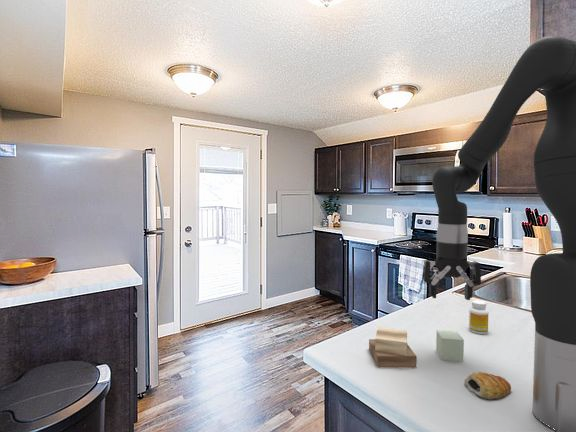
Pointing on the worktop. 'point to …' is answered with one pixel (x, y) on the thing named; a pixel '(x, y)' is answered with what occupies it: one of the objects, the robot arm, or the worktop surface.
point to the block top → (391, 341)
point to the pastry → (488, 385)
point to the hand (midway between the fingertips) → (450, 298)
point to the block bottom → (393, 358)
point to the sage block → (450, 345)
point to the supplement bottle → (478, 317)
